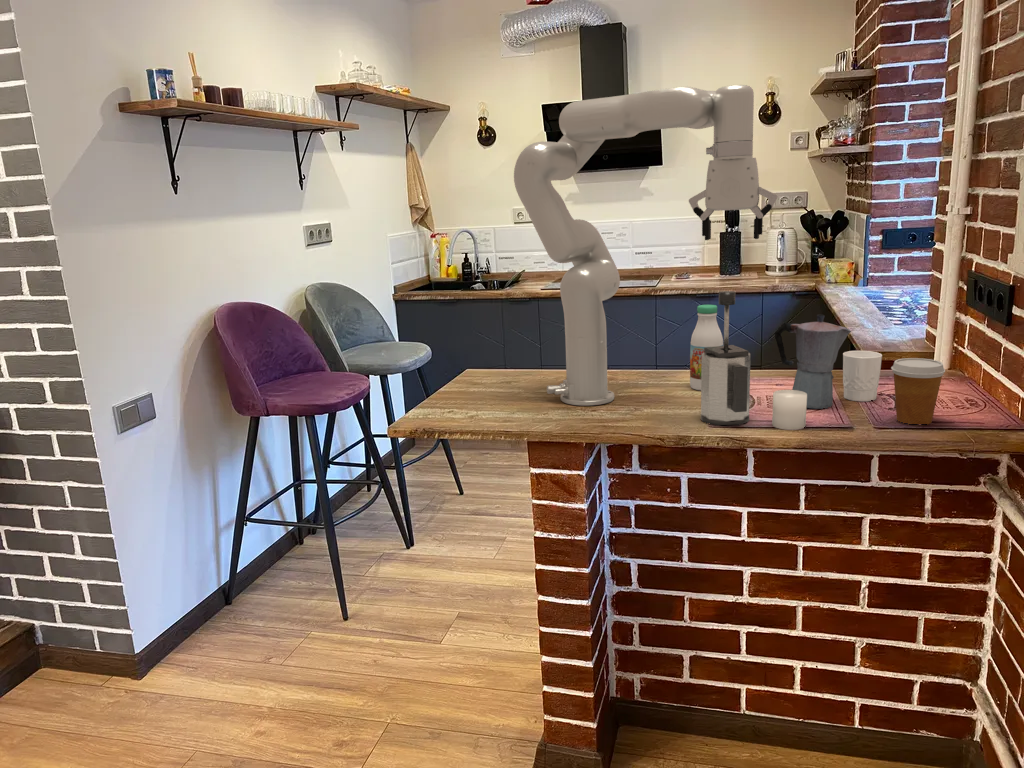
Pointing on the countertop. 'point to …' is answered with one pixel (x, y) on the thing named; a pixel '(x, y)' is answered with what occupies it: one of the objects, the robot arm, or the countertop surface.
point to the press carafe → (725, 385)
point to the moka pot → (814, 358)
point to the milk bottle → (703, 341)
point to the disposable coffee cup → (916, 389)
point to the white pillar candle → (789, 409)
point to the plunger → (726, 314)
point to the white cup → (861, 375)
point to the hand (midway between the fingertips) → (731, 239)
